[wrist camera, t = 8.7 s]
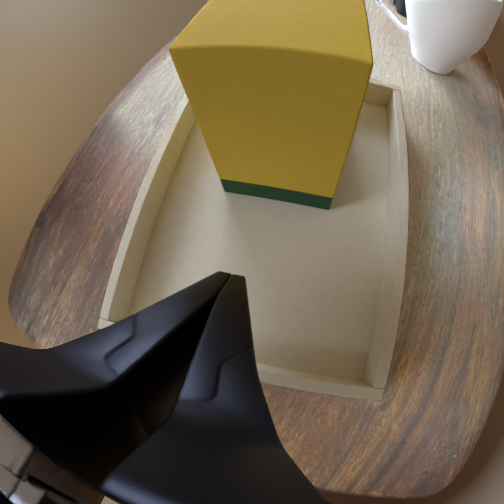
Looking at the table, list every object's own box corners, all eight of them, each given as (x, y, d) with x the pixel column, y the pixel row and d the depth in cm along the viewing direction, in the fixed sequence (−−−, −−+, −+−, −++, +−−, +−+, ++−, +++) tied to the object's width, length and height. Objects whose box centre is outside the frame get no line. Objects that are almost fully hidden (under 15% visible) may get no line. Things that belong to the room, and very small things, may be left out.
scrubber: (329, 210, 15) (374, 63, 6) (224, 192, 16) (166, 49, 7) (339, 119, 17) (362, -12, 8) (252, 106, 18) (231, -23, 8)
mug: (458, 58, 20) (487, -15, 9) (471, 101, 18) (518, 15, 7) (359, 21, 22) (369, -62, 11) (354, 55, 20) (369, -52, 9)
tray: (366, 391, 13) (381, 401, 11) (120, 330, 15) (96, 328, 13) (391, 108, 18) (400, 86, 15) (210, 82, 20) (203, 59, 18)
